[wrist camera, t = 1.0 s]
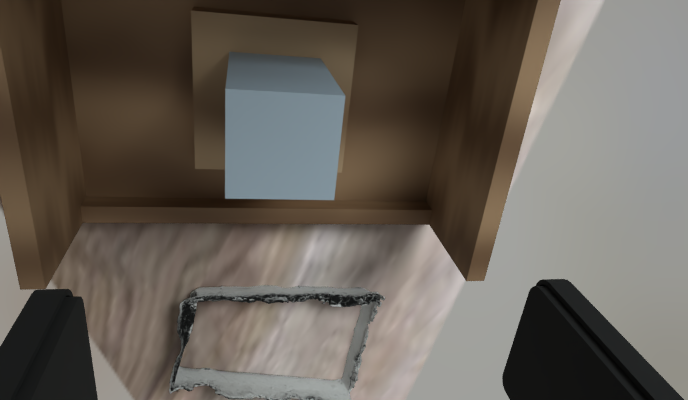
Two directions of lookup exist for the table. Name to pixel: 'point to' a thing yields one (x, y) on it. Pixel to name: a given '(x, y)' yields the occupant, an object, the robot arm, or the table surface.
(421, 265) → the table surface
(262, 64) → the block
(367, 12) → the crate
